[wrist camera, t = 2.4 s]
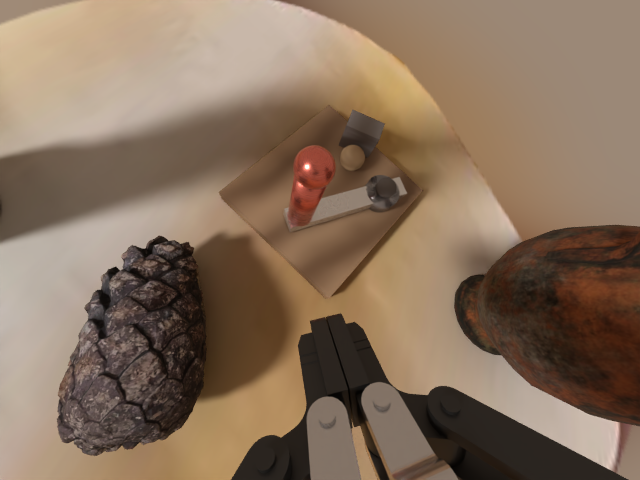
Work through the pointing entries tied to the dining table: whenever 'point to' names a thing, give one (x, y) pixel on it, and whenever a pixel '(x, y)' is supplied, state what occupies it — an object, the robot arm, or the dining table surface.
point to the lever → (311, 209)
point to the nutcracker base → (351, 173)
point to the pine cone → (137, 352)
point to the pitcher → (565, 316)
